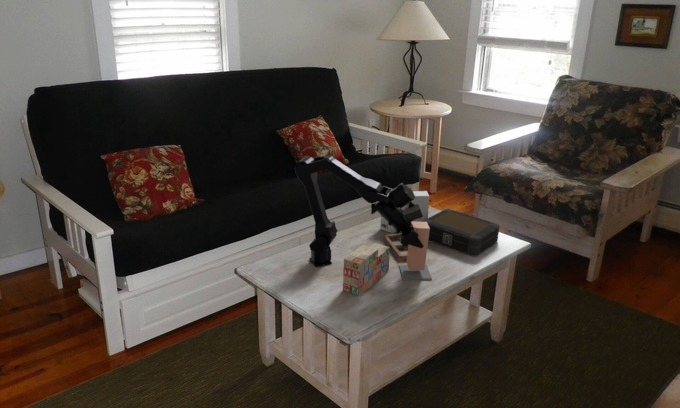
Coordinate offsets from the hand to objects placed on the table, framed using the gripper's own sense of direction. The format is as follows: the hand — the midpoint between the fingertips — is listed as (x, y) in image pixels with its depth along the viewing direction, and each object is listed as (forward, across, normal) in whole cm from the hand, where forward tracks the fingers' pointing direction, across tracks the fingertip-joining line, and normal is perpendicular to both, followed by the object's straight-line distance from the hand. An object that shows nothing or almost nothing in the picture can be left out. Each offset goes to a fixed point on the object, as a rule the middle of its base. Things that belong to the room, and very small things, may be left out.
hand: (421, 243), depth 196 cm
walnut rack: (+6, +19, +10) cm, 22 cm away
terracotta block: (+5, 0, +7) cm, 9 cm away
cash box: (+23, +27, -6) cm, 37 cm away
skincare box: (+13, +41, +4) cm, 43 cm away
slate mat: (+7, 0, +9) cm, 12 cm away
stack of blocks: (-5, -5, +22) cm, 23 cm away
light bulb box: (+6, +39, +11) cm, 41 cm away
